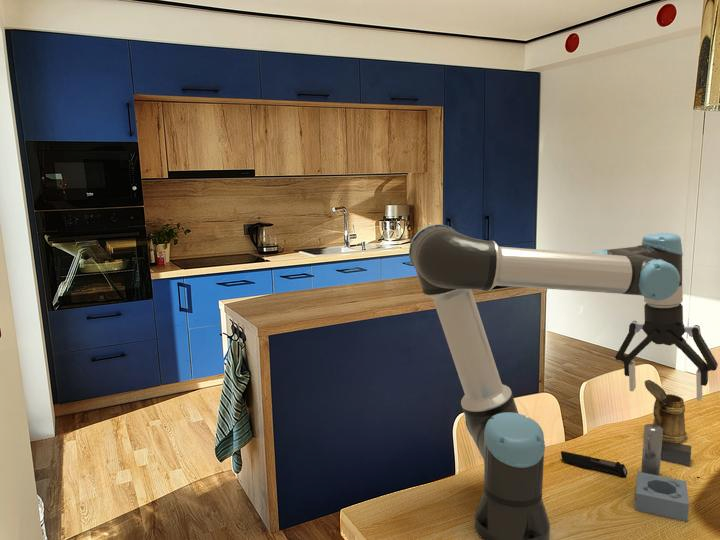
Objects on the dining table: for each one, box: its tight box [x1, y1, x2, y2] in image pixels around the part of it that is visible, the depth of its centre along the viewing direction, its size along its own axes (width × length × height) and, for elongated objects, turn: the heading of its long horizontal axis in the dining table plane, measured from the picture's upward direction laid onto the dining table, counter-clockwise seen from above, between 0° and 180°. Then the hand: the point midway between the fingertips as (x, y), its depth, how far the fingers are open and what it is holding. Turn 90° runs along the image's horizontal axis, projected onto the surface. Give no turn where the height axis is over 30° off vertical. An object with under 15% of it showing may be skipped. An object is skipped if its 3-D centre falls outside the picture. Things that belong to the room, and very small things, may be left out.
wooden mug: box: [644, 379, 688, 444], centre depth 156 cm, size 9×14×18 cm, turn 113°
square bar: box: [661, 440, 692, 467], centre depth 146 cm, size 10×4×4 cm, turn 59°
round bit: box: [640, 423, 663, 476], centre depth 139 cm, size 4×4×12 cm
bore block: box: [634, 471, 690, 522], centre depth 127 cm, size 10×10×4 cm
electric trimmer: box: [560, 450, 628, 479], centre depth 143 cm, size 4×16×3 cm, turn 59°
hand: (665, 393), depth 130 cm, fingers open, 13 cm apart
